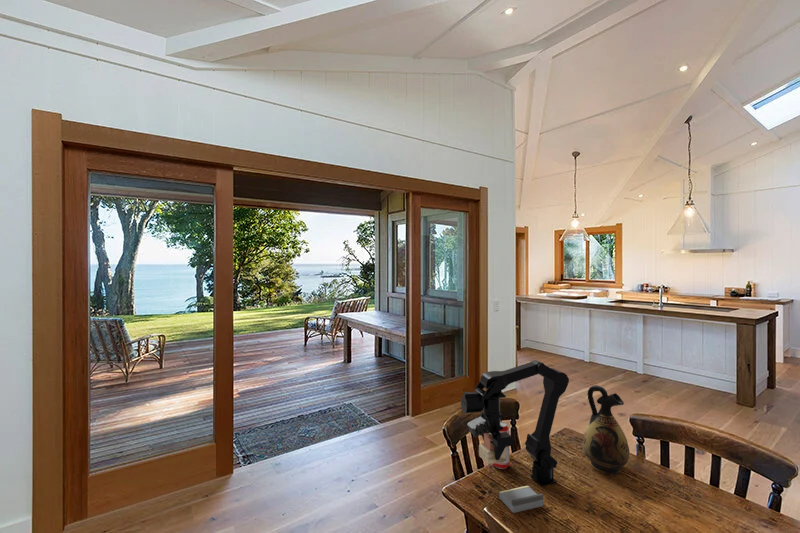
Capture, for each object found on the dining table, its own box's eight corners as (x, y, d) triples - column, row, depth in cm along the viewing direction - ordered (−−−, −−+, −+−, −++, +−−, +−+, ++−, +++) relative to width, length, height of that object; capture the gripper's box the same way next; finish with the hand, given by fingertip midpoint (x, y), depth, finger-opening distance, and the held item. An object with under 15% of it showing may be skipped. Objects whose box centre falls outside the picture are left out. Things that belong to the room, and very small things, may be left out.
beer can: (510, 470, 137) (509, 427, 137) (493, 469, 138) (492, 426, 138) (508, 462, 143) (508, 421, 143) (492, 460, 144) (491, 419, 144)
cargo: (494, 443, 129) (493, 431, 129) (500, 448, 126) (500, 436, 126) (484, 445, 128) (483, 433, 128) (490, 450, 124) (489, 438, 124)
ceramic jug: (636, 468, 137) (634, 388, 137) (620, 484, 127) (619, 398, 127) (589, 451, 150) (587, 378, 150) (571, 465, 140) (570, 386, 140)
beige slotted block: (496, 452, 131) (496, 441, 131) (506, 461, 125) (505, 449, 125) (479, 455, 129) (478, 444, 129) (487, 464, 123) (487, 452, 123)
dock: (527, 491, 124) (527, 481, 124) (543, 505, 116) (543, 494, 116) (499, 497, 121) (498, 487, 121) (513, 513, 113) (513, 501, 113)
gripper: (458, 403, 134) (459, 446, 134) (484, 424, 116) (485, 473, 116) (485, 400, 137) (486, 442, 137) (514, 419, 119) (515, 467, 119)
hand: (492, 455), depth 127 cm, fingers closed on beige slotted block, 6 cm apart
